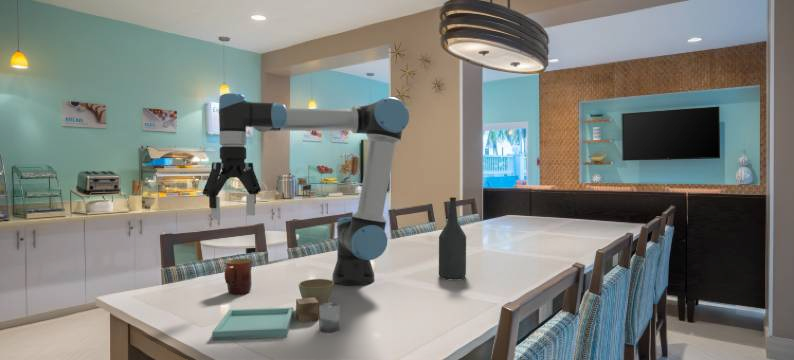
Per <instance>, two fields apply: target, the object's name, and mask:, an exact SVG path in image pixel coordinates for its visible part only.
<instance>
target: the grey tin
mask: <svg viewBox="0 0 794 360" xmlns="http://www.w3.org/2000/svg"><path fill="white" fill-rule="evenodd" d="M318 330H319V333H323V334H333V333H337V332H339V330H340V304H339V303H336V302H328V303H324V304H321V305H320V306H319V312H318Z"/></svg>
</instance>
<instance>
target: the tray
mask: <svg viewBox="0 0 794 360" xmlns="http://www.w3.org/2000/svg"><path fill="white" fill-rule="evenodd" d="M293 317H294V307H292V306H291V307H290V306H289V307H270V308H266V307H265V308H239V309H238V308H237V309H235V308H234V309H228V311H227V312H226V314H225V315H224V316H223V317H222V319H220V321H219V323H218V324H217V325H216V326H215V328H214V329H213V330H212V331H211V332H212V333H211V334H212V335H211V336H212V339H211V341H227V340H247V339H248V340H249V339H269V338H270V339H271V338H273V339H274V338H287V337H288V334H289V330H290V327H291V323H292V321H293Z"/></svg>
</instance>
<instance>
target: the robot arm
mask: <svg viewBox="0 0 794 360" xmlns="http://www.w3.org/2000/svg"><path fill="white" fill-rule="evenodd" d="M218 99H219V101H218V103H219V104H218V122H219V123H218V124H219V129H218V130H219V146H220V147H219V159H220V160H221V161H213V162H212V163H211V170H210V172H209V174H208V175H209V176H208V178H207V181H206V183H205V185H204V187H203V190H202V195H204V196H206V197H208V199H209V200H208V203H209V208H210V219H211V220H214V221H215V220H216V221H219V220H221V208H220V207H221V203H220V202H221V200H220V199H221V197H220V196H219V193H220V192H221V190H222V188H224V186H225V184H226V182H227V181H228V180H229V179H231V178H237V179H238V180H239V181H240V182H241V184H242V185H243V187H244V188H245V190H246V191H247V193H248V194H247V193H246V195H245V196H246V199H245V200H246V216H255V215H256V207H255V206H256V203H257V195H258V194H259V193H260V192H262V189H261V186H260V183H259V180H258V178H257V175H256V172H255V170H254V163H253V162H245V160H246V159H247V148H246V147H245V146H246V145H247V128H253V129H255V130H256V131H258V132H262V133H263V132H264V133H266V132H275V131H276V132H278V131H279V132H280V131H282V132H285V131H287V132H288V131H289V132H290V131H292V132H294V131H296V132H297V131H299V132H300V131H303V132H304V131H307V132H308V131H309V132H310V131H313V132H314V131H323V132H324V131H330V132H331V131H336V132H337V131H338V132H339V131H341V132H342V131H344V132H345V131H348V132H349V131H350V132H351V133H352V134H363V135H365V134H366V137H367V139H368V140H369V144H368V145H369V146H368V151H367V155H366V161H365V167H364V173H363V177H362V178H363V179H362V183H361V188H360V196H359V199H358V201H359V202H358V207H357V211H356V212H355V213H353V214H352V215H351V216H349V217H348V216H347V217H345V216H344V217H340V218H339V219H337V223H336V229H337V231H336V235H337V237H336V238H337V242H336V243H337V244H336V245H337V247H336V249H337V253H336V254H337V259H336V262H335V265H334V268H333V271H332V272H333V273H332V278H331V279H332V280H331V281H333V282H334V283H335V284H338V285H343V286H360V285H361V286H363V285H367V284H371V283H373V282H374V281H375V272H374V269H373V266H372V263H371V261H372V260H376V259H378V258H379V257H380V256H382V255H383V254H384V252H385V251H386V249H387V246H388V236H387V232H386V227H387V225H386V224H387V220H386V219H385V217H384V210H385V204H386V199H387V193H388V188H389V181H390V175H391V171H392V165H393V164H392V163H393V159H394V153H395V147H396V146H397V145H398V144H399V143H400V142H401V141H402V140H401V139H402V134H403V130H405V129H406V127H407V126H408V124H409V122H410V111H409V109H408V107H407V106H406V104H405V103H404V102H403V101H402V100H401V99H398V98H396V97H384V98H381V99H379V100H378V101H375V102H373V103H371V104H366V105H361V106H352V107H351V108H350V109H348V108H340V109H339V108H338V109H337V108H287V106H286V105H285V104H284V103H276V102H253V101H247V99H246V96H245V95H244V94H241V93H231V92H229V93H228V92H227V93H223V94H221V95H220V96H219V98H218Z"/></svg>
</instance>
